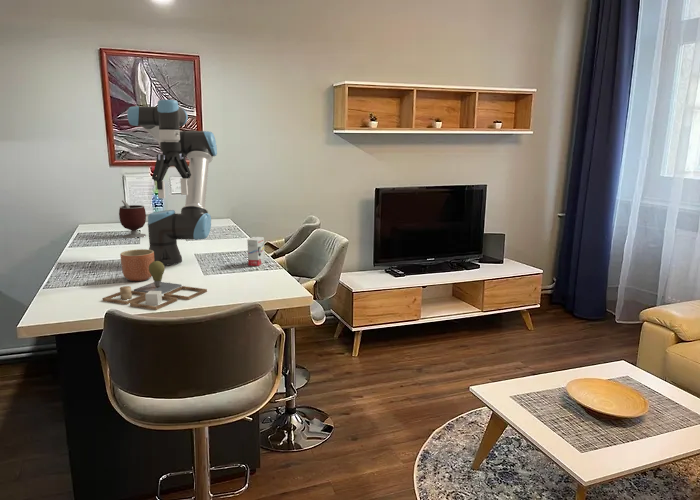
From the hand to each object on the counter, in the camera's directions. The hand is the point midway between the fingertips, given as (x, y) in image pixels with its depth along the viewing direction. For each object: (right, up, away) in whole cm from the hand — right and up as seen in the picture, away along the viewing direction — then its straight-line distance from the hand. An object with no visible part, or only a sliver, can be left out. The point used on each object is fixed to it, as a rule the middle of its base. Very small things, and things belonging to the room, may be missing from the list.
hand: (173, 196), depth 207 cm
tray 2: (+3, -39, -27) cm, 48 cm away
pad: (-2, -36, -10) cm, 37 cm away
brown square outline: (+10, -37, -17) cm, 42 cm away
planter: (-15, -33, +3) cm, 36 cm away
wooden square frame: (-9, -38, -22) cm, 45 cm away
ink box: (+28, -28, +29) cm, 49 cm away
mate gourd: (-53, -14, +91) cm, 106 cm away
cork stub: (-9, -38, -22) cm, 45 cm away
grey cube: (+3, -40, -27) cm, 48 cm away
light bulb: (-2, -35, -10) cm, 37 cm away
